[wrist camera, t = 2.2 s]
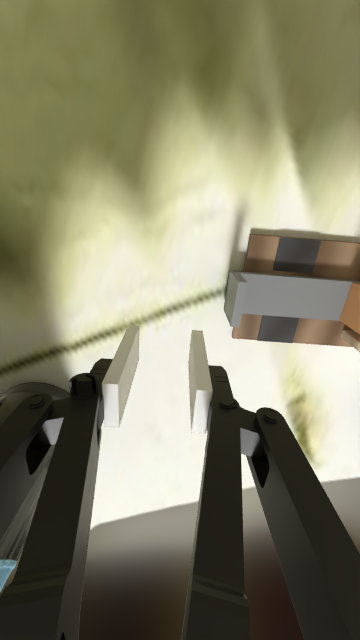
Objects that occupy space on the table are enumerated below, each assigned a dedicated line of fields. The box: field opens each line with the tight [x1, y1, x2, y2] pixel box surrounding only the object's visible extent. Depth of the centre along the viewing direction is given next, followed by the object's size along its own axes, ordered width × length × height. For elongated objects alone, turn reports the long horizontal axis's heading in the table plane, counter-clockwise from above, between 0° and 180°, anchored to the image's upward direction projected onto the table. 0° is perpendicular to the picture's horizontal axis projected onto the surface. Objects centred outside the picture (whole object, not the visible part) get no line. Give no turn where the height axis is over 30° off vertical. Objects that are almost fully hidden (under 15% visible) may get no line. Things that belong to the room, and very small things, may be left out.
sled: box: [224, 271, 360, 334], centre depth 30 cm, size 21×5×6 cm, turn 86°
